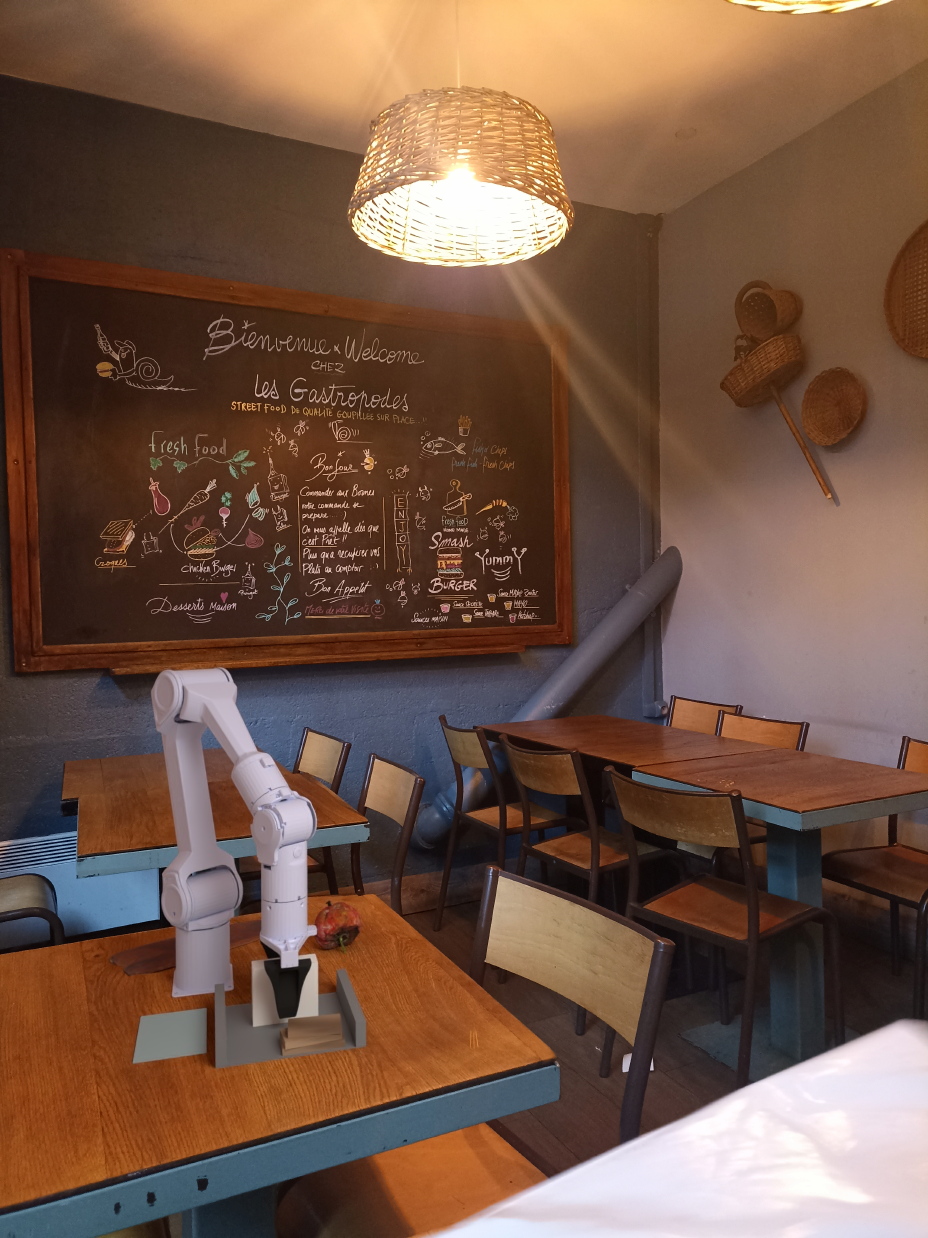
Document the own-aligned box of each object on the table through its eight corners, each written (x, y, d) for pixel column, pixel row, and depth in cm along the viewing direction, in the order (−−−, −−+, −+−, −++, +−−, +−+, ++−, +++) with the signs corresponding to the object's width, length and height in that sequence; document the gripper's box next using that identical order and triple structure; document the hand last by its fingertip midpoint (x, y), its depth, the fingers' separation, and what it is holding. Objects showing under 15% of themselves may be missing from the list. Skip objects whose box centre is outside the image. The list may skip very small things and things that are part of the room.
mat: (140, 1021, 109) (140, 1016, 109) (206, 1012, 111) (206, 1008, 111) (132, 1067, 97) (132, 1062, 97) (206, 1057, 99) (206, 1052, 99)
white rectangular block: (251, 1016, 109) (251, 961, 109) (315, 1008, 111) (315, 953, 111) (253, 1027, 106) (252, 970, 106) (318, 1018, 108) (318, 962, 108)
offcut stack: (279, 1040, 102) (279, 1020, 102) (340, 1031, 104) (339, 1011, 104) (282, 1057, 98) (282, 1036, 98) (345, 1048, 100) (345, 1027, 100)
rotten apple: (368, 964, 132) (355, 909, 140) (368, 937, 128) (356, 882, 135) (320, 975, 130) (310, 919, 138) (318, 948, 126) (308, 891, 133)
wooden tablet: (135, 984, 122) (135, 972, 122) (105, 964, 129) (105, 953, 129) (293, 934, 141) (293, 924, 141) (260, 920, 148) (260, 910, 148)
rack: (214, 1011, 111) (214, 984, 111) (345, 994, 116) (345, 968, 116) (215, 1073, 96) (215, 1041, 96) (366, 1050, 101) (365, 1020, 101)
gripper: (323, 910, 103) (324, 1024, 103) (309, 877, 117) (310, 977, 116) (263, 916, 101) (263, 1033, 101) (256, 882, 115) (257, 984, 114)
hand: (284, 1003), depth 108 cm, fingers open, 7 cm apart
